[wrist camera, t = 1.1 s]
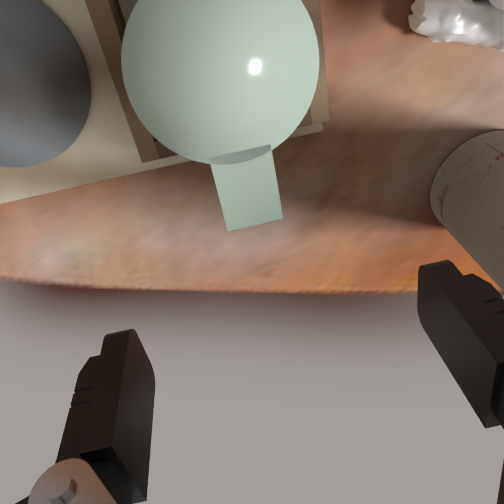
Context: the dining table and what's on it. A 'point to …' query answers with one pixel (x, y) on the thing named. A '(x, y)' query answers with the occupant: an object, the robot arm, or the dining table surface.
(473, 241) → the thermos bottle
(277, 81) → the sage jug
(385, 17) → the dining table surface
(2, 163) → the jug stand
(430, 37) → the seated beast figurine
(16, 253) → the dining table surface
